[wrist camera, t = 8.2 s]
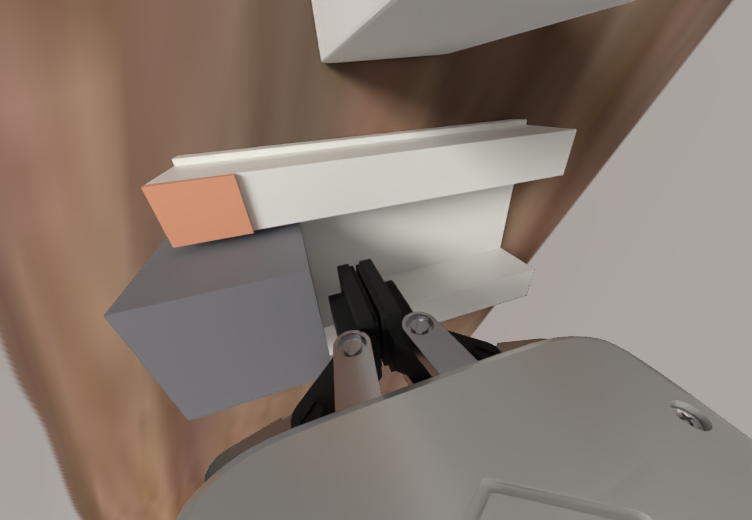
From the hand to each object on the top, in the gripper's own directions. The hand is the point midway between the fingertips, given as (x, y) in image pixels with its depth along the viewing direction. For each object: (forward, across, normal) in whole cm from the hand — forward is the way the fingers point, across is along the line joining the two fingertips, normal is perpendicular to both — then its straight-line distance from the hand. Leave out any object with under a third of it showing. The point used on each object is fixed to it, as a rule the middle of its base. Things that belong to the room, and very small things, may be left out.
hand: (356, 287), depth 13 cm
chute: (+6, -3, 0) cm, 6 cm away
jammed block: (+5, +5, 0) cm, 7 cm away
